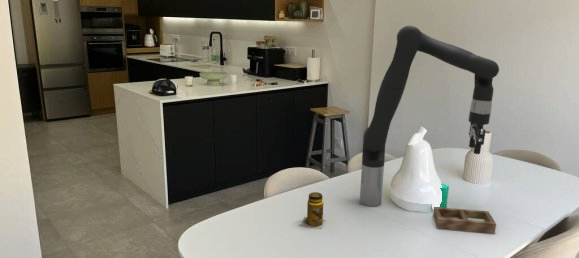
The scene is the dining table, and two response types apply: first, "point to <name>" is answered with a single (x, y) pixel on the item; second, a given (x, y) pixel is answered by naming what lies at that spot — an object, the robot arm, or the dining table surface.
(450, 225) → the slot rack
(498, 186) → the dining table surface
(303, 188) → the dining table surface
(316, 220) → the condiment
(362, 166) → the robot arm
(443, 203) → the candle
